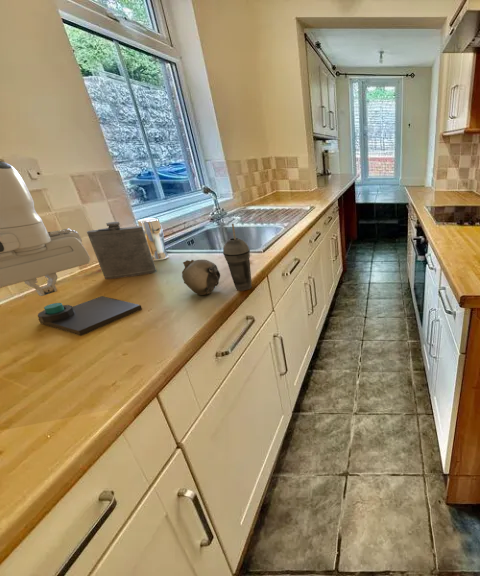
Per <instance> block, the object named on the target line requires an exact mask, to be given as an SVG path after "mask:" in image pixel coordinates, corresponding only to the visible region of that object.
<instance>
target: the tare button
mask: <svg viewBox="0 0 480 576" xmlns="http://www.w3.org/2000/svg"><path fill="white" fill-rule="evenodd" d="M63 305H64V304H63V303H62V302H53V303H50V304H47V305H45V306H44V307H43V310H45V311H46V313H47V314H55V313H58V312H61V311H63V310H65V309H64V307H63Z"/></svg>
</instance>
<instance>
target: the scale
mask: <svg viewBox="0 0 480 576" xmlns="http://www.w3.org/2000/svg"><path fill="white" fill-rule="evenodd" d="M62 305H63V307H64V309H65V310H63V311H61V312H58V313H55V314H47V313H46V311H45V309H43V310H42V311H40V312H39V313H37V317H38V321H39V323H40V324H41V325H43V326H47V327H50V328H54V329H57V330H60V331H64V332H67V333H70V334H73V335H76V336H80V337H82V336H84V335H86V334H89V333H91V332H93V331H96V330H98V329H100V328H102V327H105V326H107V325H110V324H112V323H114V322H116V321H119V320H121V319H124V318H126V317H128V316H130V315H132V314H135V313H137V312H139V311H141V310H143V308H142V305H141V304H138V303H133V302H130V301H126V300H125V301H124V300H121V299H116V298H112V297H108V296H105V295H104V296H103V295H100V296H98V297H95V298H92V299H89V300H86V301H84V302H81V303H78V304H76V305H71V304H62Z"/></svg>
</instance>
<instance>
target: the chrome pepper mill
mask: <svg viewBox="0 0 480 576" xmlns="http://www.w3.org/2000/svg"><path fill="white" fill-rule="evenodd" d="M137 226H142V227H143V230H144V233H145V236H146V240H147V243H148V246H149V249H150V252H151V255H152V259H153V262H155V261H163V260H167V259H169V257H170V255H169V253H168V252H167V250H166V245H165V237H164V235H165V234H164V230H163V228H162V224H161V222H160V219H159V218H157V217H151V218H149V217H148V218H142V219H138V220H137Z"/></svg>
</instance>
